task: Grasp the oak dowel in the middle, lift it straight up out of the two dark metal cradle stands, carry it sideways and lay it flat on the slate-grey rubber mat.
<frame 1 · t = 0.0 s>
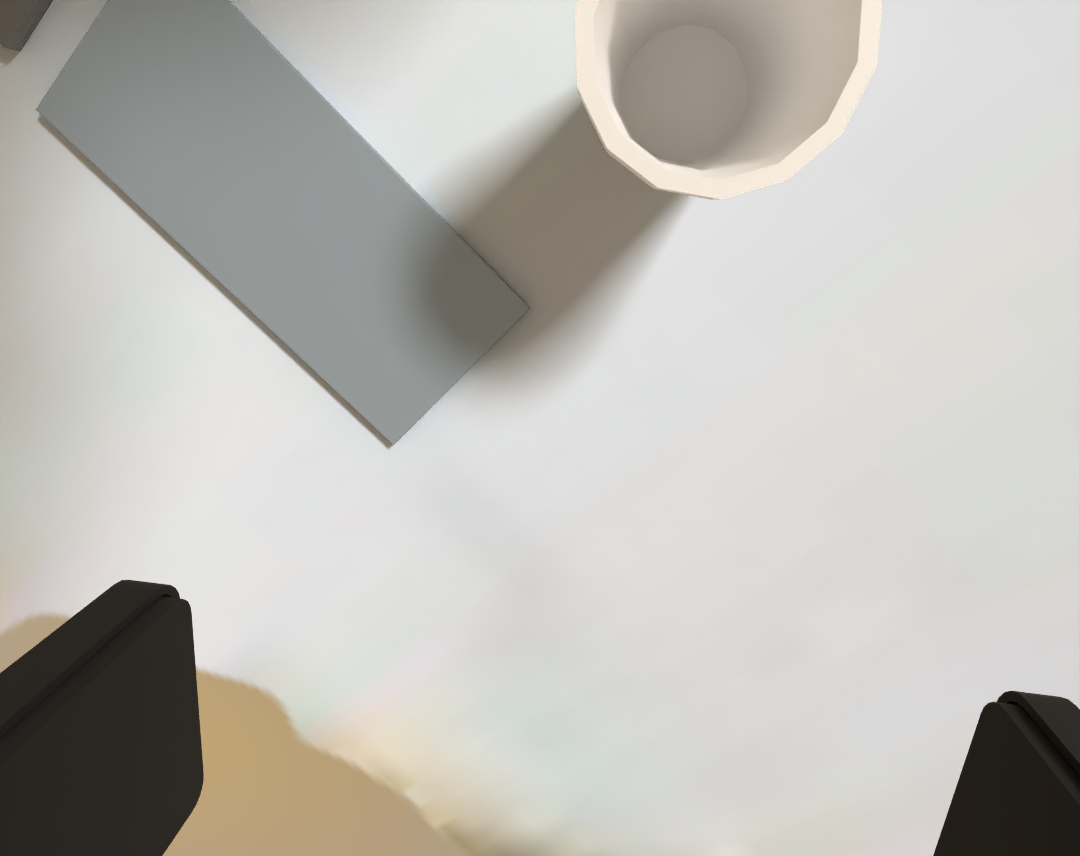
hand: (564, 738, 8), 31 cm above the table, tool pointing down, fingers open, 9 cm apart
slate mat: (290, 210, 38), on the table
foam cup: (681, 97, 35), on the table
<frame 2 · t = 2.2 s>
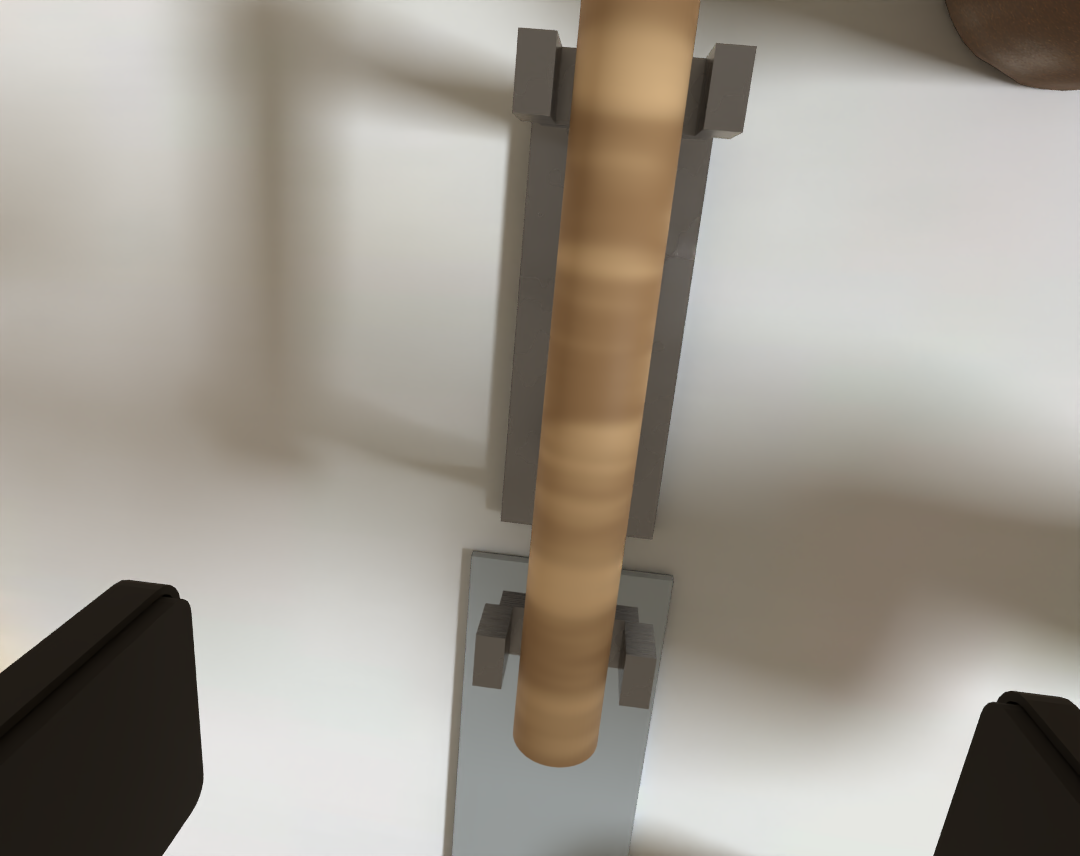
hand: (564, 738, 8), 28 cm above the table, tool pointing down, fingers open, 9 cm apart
oak dowel: (593, 397, 23), point 13 cm above the table, touching cradle stands
slate mat: (551, 747, 43), on the table
cradle stands: (598, 329, 35), on the table
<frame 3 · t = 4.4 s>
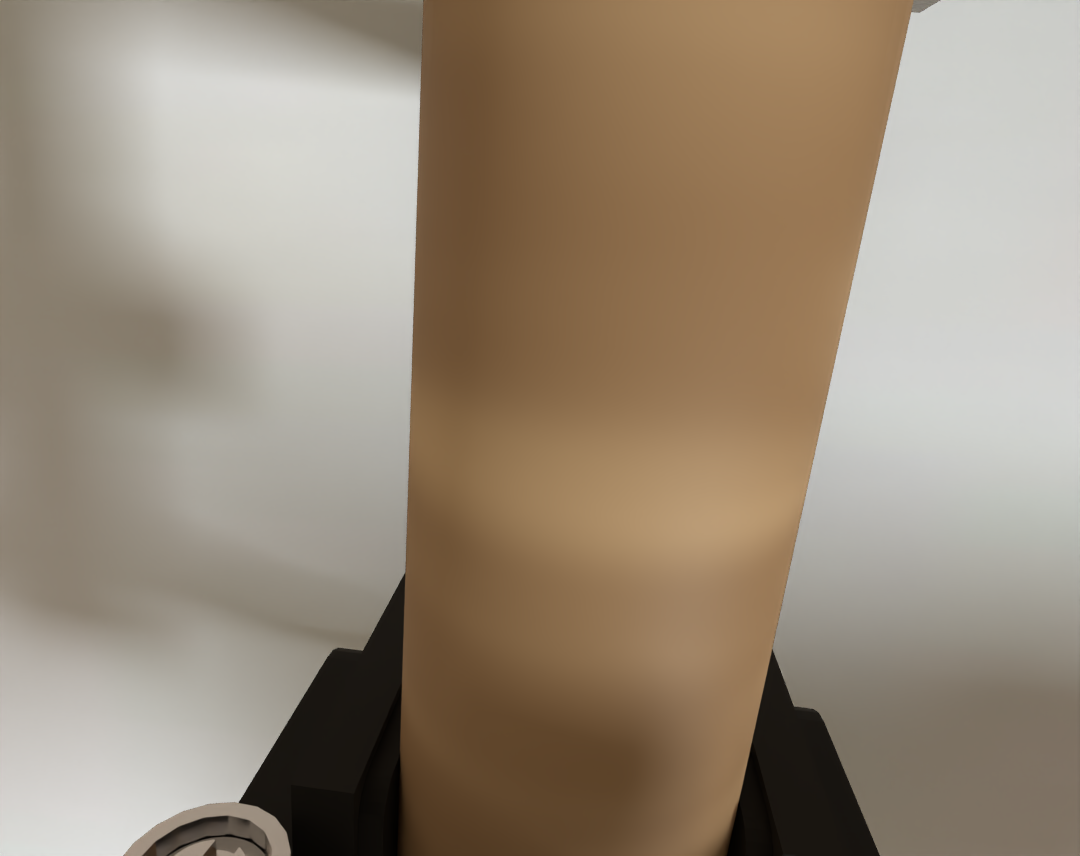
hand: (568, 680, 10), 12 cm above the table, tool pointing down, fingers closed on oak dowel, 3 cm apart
oak dowel: (563, 750, 8), point 13 cm above the table, touching cradle stands, gripper
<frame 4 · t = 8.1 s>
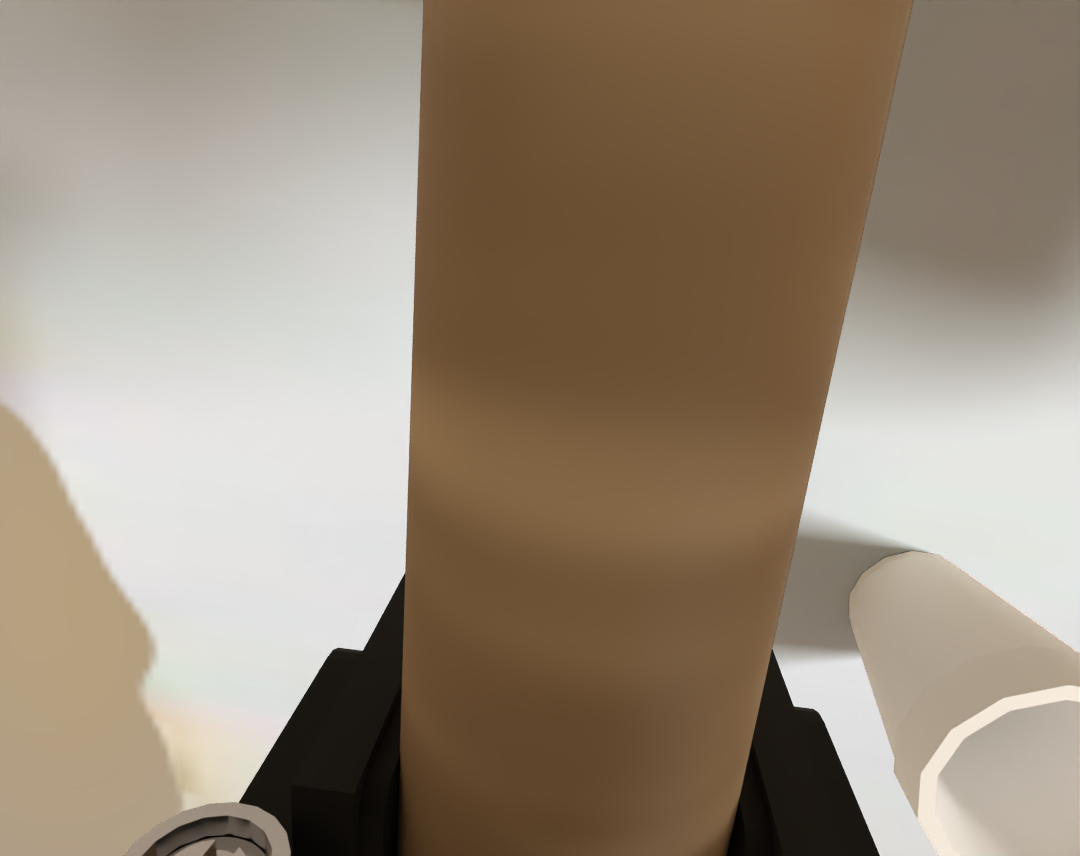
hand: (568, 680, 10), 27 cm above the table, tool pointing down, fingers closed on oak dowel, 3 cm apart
oak dowel: (563, 748, 8), point 29 cm above the table, touching gripper
foam cup: (907, 602, 39), on the table
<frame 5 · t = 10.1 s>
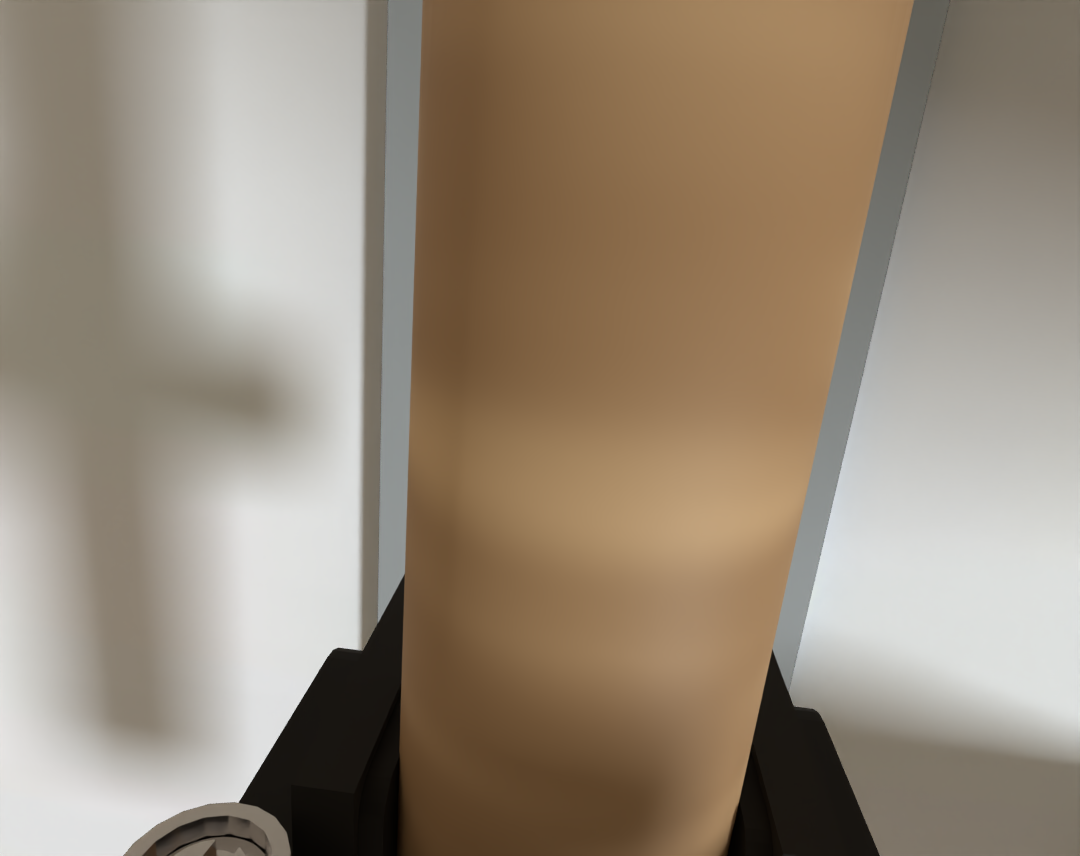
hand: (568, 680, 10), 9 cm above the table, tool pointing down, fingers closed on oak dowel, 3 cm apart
oak dowel: (563, 751, 8), point 10 cm above the table, touching gripper
slate mat: (603, 453, 18), on the table
when the fingers open (1 cm above the table, at t = 11.9 s): oak dowel drops 2 cm, resting on slate mat.
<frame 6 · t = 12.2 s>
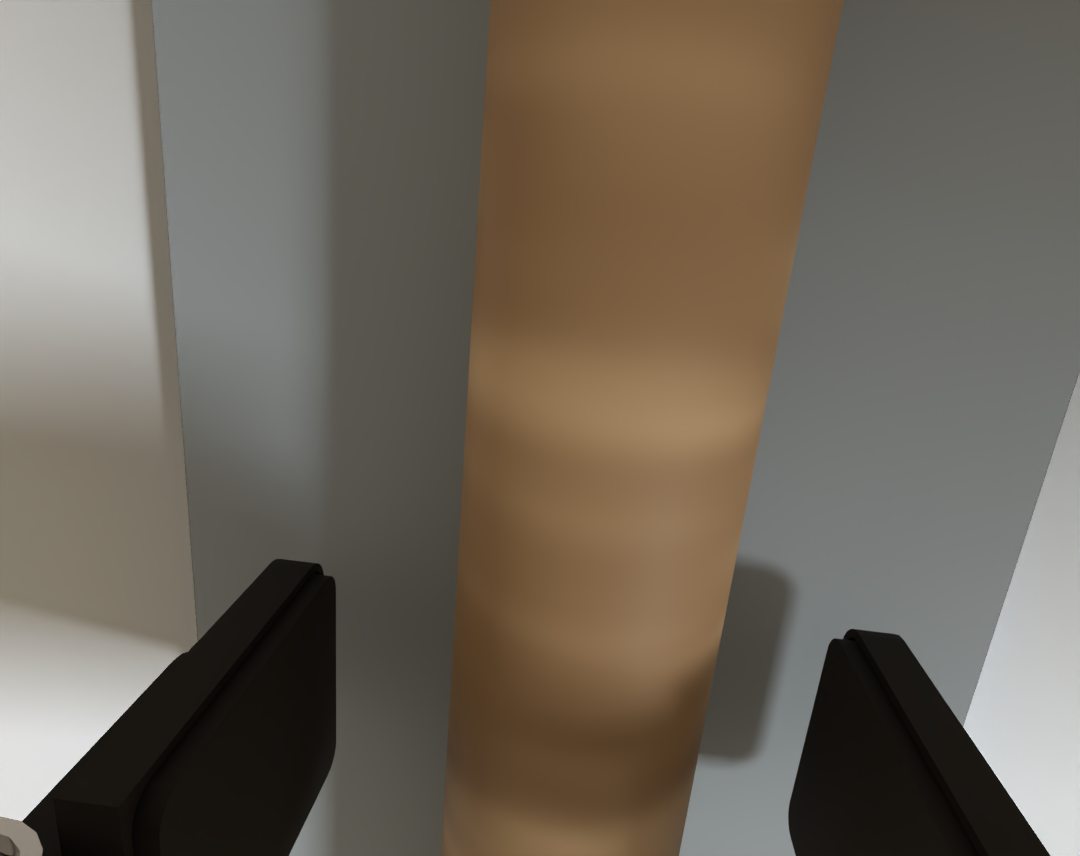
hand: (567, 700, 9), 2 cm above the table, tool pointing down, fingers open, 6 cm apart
oak dowel: (576, 651, 10), point 1 cm above the table, touching slate mat
slate mat: (572, 628, 11), on the table
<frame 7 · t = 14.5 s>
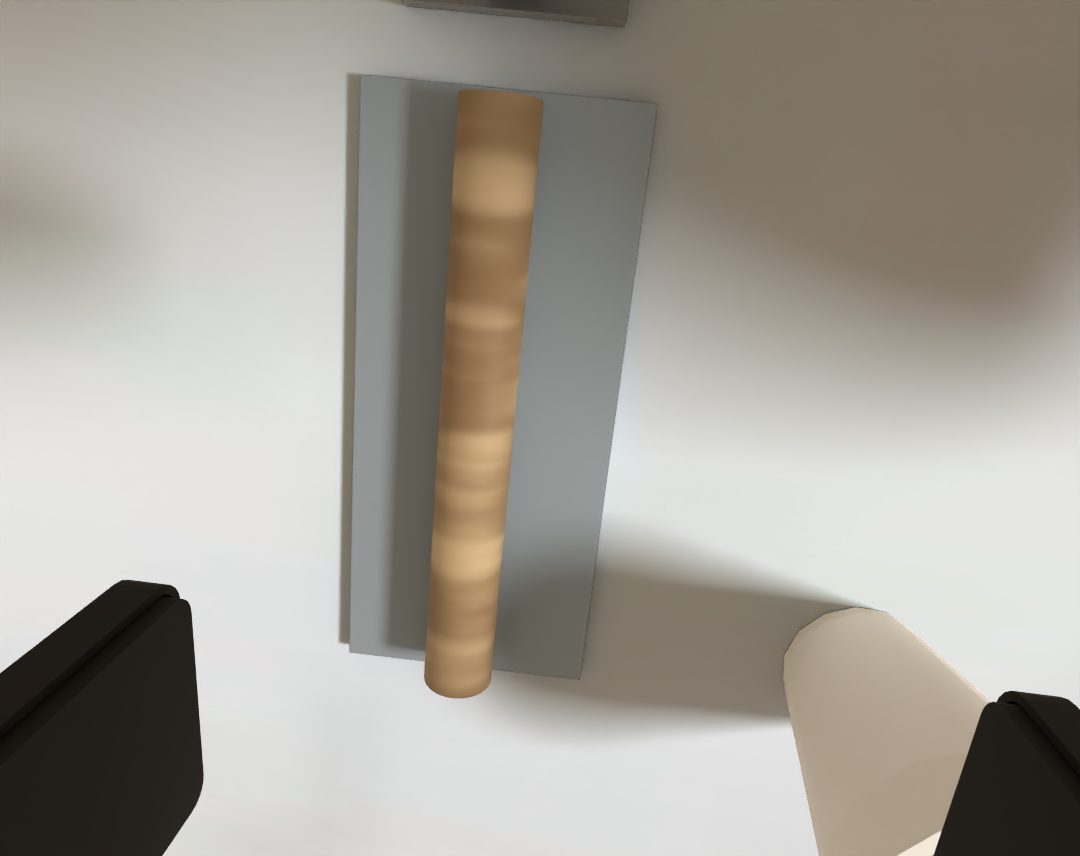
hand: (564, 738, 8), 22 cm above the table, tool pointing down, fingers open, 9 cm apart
oak dowel: (485, 413, 30), point 1 cm above the table, tilted 6°, touching slate mat
slate mat: (485, 409, 31), on the table
foam cup: (849, 664, 34), on the table
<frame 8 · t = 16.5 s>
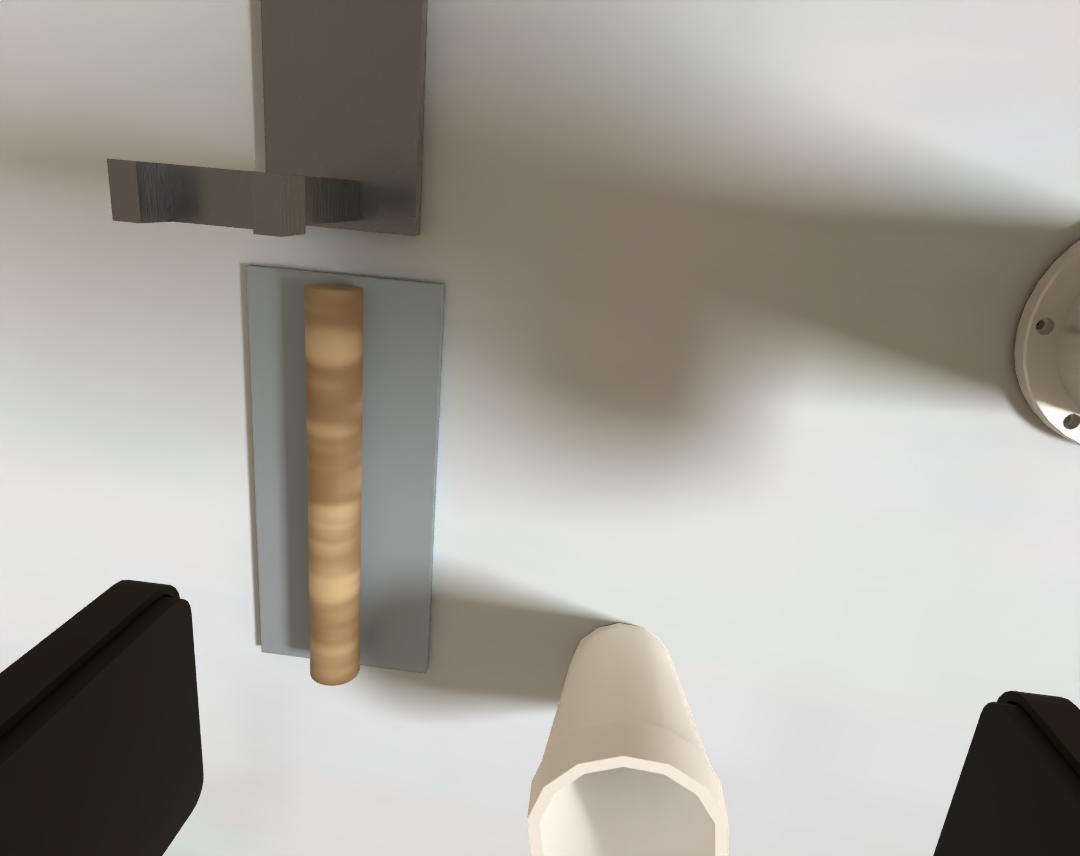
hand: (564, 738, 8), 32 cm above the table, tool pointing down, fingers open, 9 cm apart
oak dowel: (344, 486, 43), point 1 cm above the table, touching slate mat
slate mat: (346, 482, 44), on the table
cradle stands: (347, 10, 36), on the table
foam cup: (621, 664, 46), on the table
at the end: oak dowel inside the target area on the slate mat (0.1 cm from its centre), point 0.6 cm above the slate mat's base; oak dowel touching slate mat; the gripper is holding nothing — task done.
